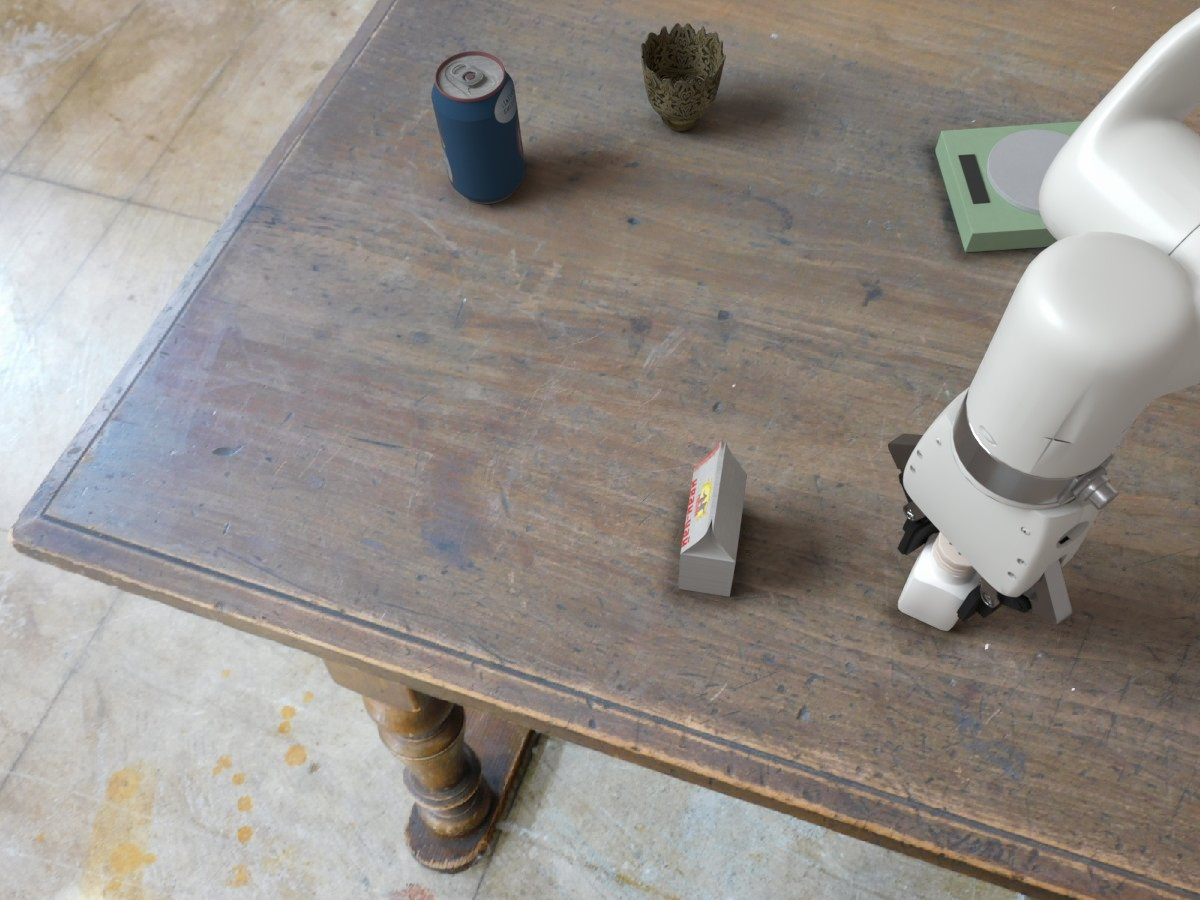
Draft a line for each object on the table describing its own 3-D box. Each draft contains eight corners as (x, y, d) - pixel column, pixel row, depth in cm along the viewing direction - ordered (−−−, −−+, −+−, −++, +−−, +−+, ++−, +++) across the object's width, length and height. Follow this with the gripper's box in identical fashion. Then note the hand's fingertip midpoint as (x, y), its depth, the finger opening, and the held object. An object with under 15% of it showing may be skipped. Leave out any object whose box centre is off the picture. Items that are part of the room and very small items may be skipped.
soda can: (542, 178, 97) (530, 71, 87) (487, 221, 95) (467, 117, 85) (490, 142, 100) (471, 34, 90) (434, 183, 98) (409, 77, 87)
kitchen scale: (1078, 140, 97) (1090, 115, 95) (1117, 242, 91) (1131, 217, 89) (934, 150, 97) (942, 125, 95) (964, 252, 91) (974, 228, 89)
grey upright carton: (740, 512, 80) (752, 444, 71) (729, 596, 76) (740, 535, 68) (691, 505, 80) (696, 436, 72) (678, 588, 77) (682, 527, 68)
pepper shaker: (913, 565, 77) (944, 504, 69) (967, 589, 76) (1005, 530, 68) (893, 611, 75) (923, 555, 67) (948, 637, 74) (985, 582, 66)
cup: (722, 148, 99) (728, 78, 92) (642, 150, 99) (642, 81, 92) (717, 91, 102) (722, 20, 95) (640, 94, 102) (639, 23, 96)
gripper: (1210, 518, 53) (1081, 645, 69) (970, 294, 61) (903, 455, 76) (1101, 597, 51) (994, 709, 67) (867, 356, 59) (820, 508, 75)
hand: (946, 572), depth 72 cm, fingers closed on pepper shaker, 5 cm apart
